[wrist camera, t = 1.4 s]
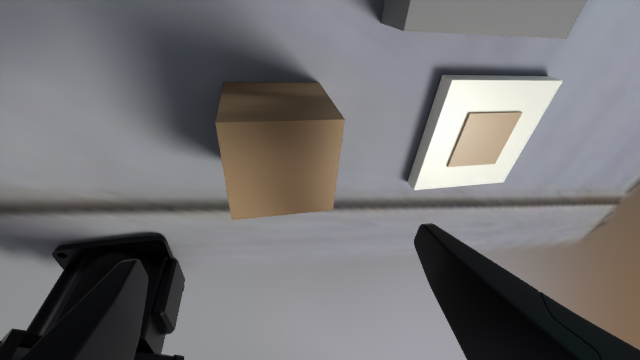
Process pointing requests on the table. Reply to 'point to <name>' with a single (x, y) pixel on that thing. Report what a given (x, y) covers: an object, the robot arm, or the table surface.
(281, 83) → the walnut cube
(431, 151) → the tile
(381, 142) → the table surface
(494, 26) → the charcoal base block
